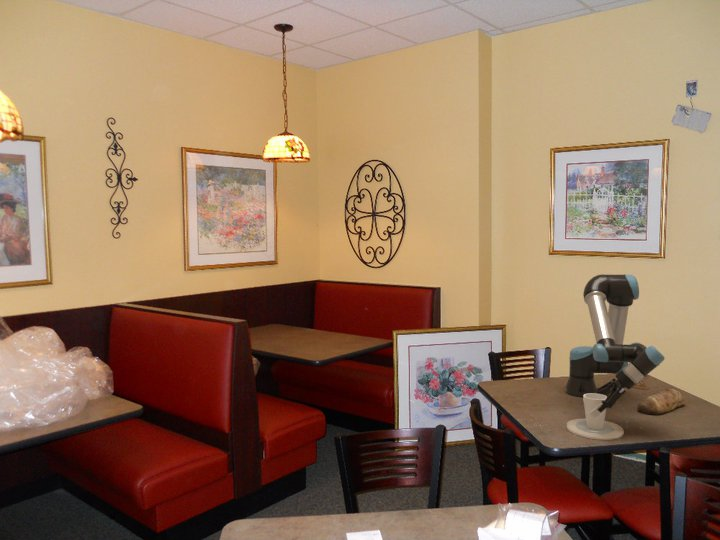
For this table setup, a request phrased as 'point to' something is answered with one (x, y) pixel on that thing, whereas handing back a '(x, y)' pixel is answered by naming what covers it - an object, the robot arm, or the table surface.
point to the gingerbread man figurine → (641, 385)
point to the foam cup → (590, 404)
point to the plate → (607, 433)
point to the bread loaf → (661, 402)
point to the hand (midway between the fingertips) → (589, 410)
